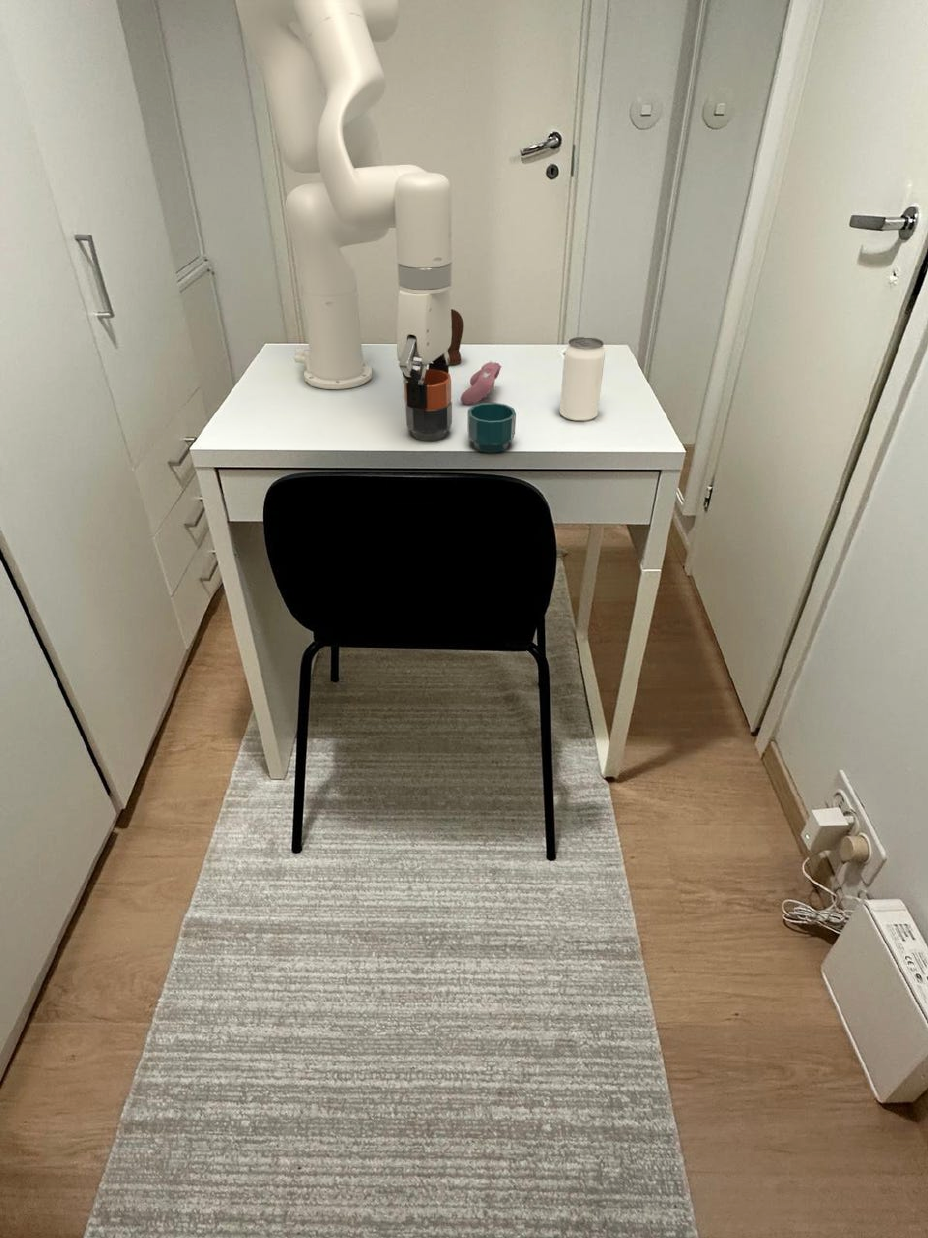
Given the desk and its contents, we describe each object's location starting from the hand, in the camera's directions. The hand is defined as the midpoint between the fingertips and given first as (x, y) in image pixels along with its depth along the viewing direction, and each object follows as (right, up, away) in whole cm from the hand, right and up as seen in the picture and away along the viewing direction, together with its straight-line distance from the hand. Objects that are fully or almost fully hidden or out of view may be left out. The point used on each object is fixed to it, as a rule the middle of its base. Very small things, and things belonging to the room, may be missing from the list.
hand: (428, 397), depth 113 cm
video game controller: (+9, +5, +16) cm, 19 cm away
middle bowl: (0, -2, +1) cm, 2 cm away
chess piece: (+3, +16, +30) cm, 34 cm away
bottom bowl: (0, -5, +4) cm, 6 cm away
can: (+25, 0, +10) cm, 27 cm away
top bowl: (+10, -7, +1) cm, 12 cm away
